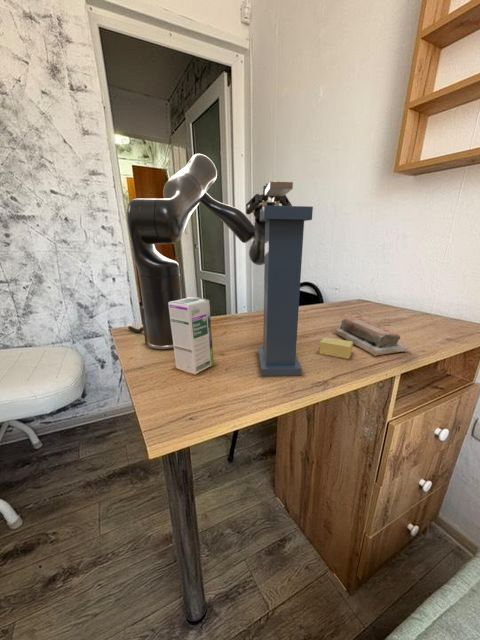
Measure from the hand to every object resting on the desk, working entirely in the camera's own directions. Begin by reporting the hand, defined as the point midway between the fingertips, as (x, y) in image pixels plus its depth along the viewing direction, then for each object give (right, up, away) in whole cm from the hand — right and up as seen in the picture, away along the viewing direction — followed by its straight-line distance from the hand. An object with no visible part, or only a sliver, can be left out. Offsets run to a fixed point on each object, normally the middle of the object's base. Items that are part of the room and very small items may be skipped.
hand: (272, 187), depth 72 cm
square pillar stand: (+1, -43, -7) cm, 44 cm away
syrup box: (-17, -44, -9) cm, 48 cm away
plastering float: (+26, -38, +7) cm, 46 cm away
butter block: (+15, -41, -1) cm, 44 cm away
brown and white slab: (0, -4, -5) cm, 6 cm away
